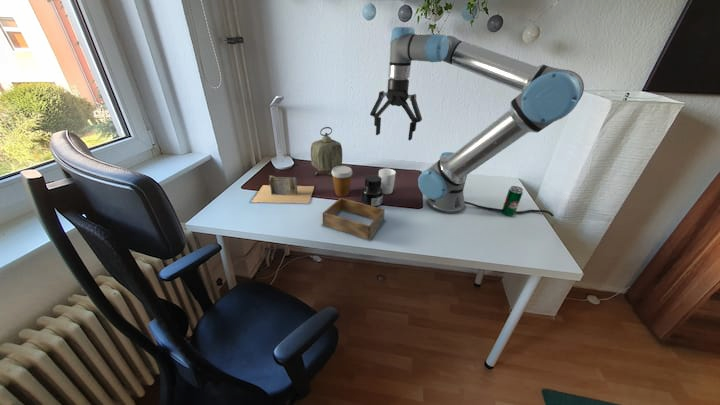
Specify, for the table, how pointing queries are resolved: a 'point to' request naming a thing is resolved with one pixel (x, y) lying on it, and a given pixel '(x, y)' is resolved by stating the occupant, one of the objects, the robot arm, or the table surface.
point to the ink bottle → (372, 191)
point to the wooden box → (352, 226)
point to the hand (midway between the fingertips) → (393, 136)
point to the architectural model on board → (284, 191)
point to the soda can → (512, 200)
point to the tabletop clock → (326, 153)
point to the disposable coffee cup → (341, 180)
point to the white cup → (387, 180)
